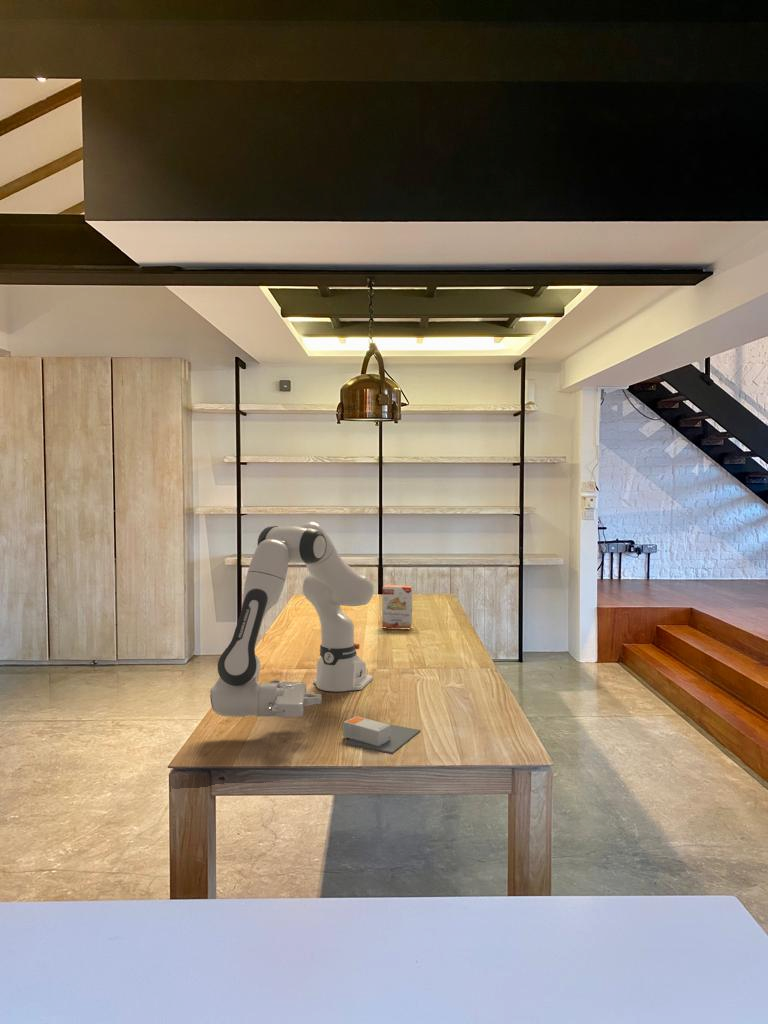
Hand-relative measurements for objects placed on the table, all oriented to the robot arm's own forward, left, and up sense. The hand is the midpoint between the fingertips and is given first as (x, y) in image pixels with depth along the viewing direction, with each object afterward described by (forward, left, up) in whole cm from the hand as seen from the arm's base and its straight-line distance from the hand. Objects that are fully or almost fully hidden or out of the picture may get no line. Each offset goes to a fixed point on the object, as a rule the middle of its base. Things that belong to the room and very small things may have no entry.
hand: (321, 699), depth 186 cm
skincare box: (-2, +7, -7) cm, 10 cm away
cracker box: (-138, -42, -10) cm, 145 cm away
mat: (-5, +17, -10) cm, 20 cm away
